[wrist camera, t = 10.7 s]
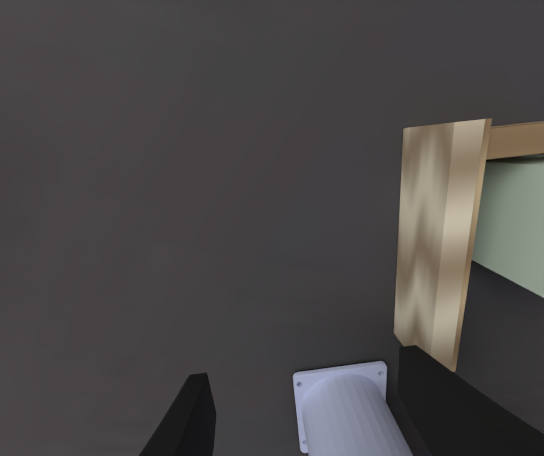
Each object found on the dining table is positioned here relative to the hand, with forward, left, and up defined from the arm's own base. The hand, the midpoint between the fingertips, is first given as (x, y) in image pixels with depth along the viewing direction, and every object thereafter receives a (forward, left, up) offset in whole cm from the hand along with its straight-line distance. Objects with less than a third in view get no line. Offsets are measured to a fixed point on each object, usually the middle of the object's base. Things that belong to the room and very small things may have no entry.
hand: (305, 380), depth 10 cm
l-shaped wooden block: (0, -13, -10) cm, 16 cm away
